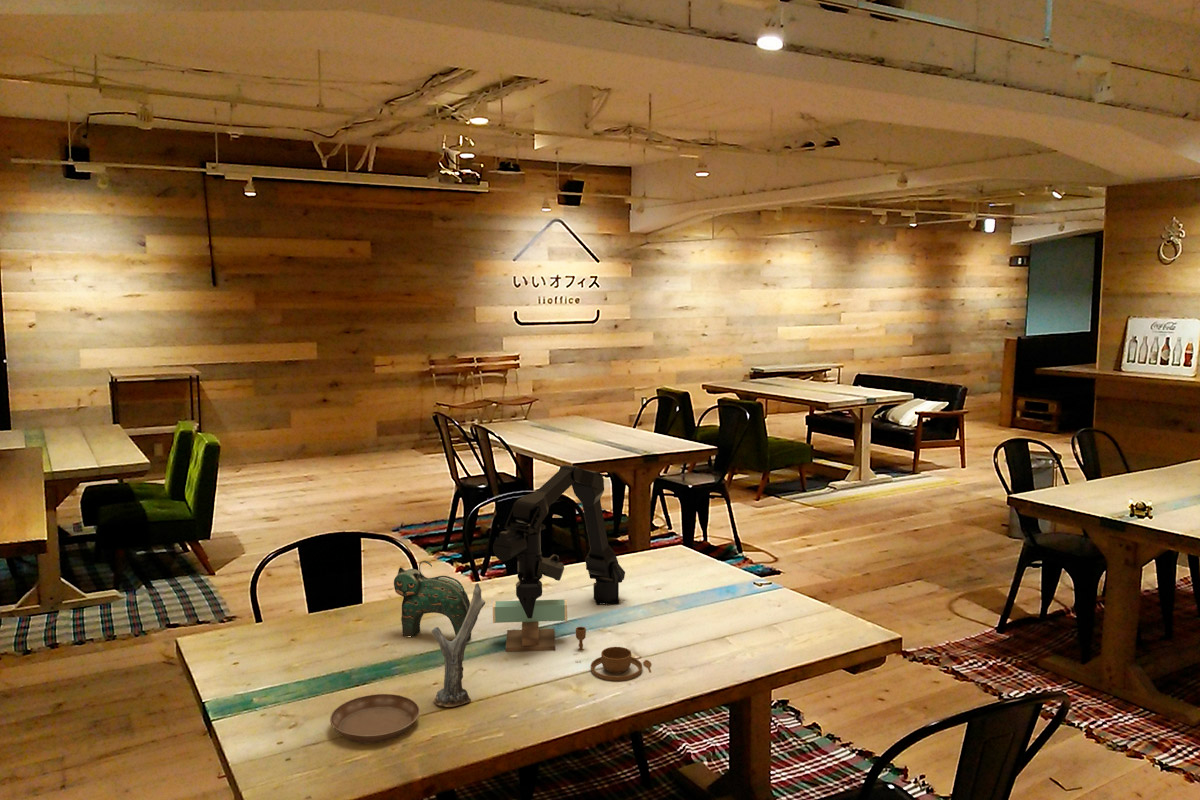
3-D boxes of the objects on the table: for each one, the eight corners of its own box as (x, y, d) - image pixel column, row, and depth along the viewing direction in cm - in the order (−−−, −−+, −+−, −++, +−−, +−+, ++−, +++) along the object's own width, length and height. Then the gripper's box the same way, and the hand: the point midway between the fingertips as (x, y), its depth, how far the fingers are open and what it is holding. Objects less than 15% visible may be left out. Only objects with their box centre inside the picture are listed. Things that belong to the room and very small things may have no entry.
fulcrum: (554, 632, 234) (554, 609, 233) (555, 650, 223) (554, 626, 222) (507, 633, 233) (506, 611, 233) (505, 651, 223) (505, 628, 222)
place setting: (580, 686, 205) (580, 661, 205) (572, 649, 225) (572, 626, 224) (657, 681, 207) (657, 657, 207) (642, 646, 227) (643, 623, 226)
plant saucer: (426, 705, 196) (425, 692, 196) (412, 748, 179) (411, 734, 178) (343, 707, 196) (342, 693, 195) (320, 750, 178) (319, 735, 178)
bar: (492, 623, 225) (492, 607, 224) (493, 616, 229) (493, 601, 229) (567, 620, 226) (567, 605, 226) (566, 614, 230) (566, 599, 230)
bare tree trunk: (439, 711, 193) (436, 597, 189) (428, 696, 200) (424, 586, 196) (491, 699, 198) (488, 588, 194) (478, 685, 205) (475, 577, 201)
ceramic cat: (394, 637, 232) (391, 561, 229) (406, 627, 238) (404, 553, 235) (466, 646, 226) (463, 568, 223) (477, 636, 232) (475, 560, 229)
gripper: (562, 561, 216) (563, 624, 219) (561, 538, 235) (561, 596, 237) (515, 562, 216) (516, 626, 218) (517, 539, 234) (518, 597, 236)
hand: (530, 611), depth 227 cm, fingers open, 9 cm apart
